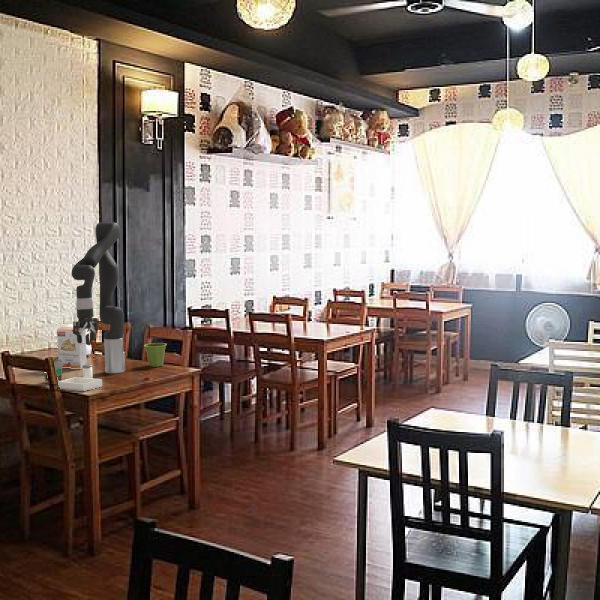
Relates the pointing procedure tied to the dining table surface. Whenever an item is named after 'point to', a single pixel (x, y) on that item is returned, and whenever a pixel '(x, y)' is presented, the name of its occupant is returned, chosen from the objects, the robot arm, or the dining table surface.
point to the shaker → (87, 371)
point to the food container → (58, 369)
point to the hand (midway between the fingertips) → (86, 341)
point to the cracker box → (71, 348)
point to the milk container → (88, 345)
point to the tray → (80, 383)
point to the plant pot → (155, 353)
